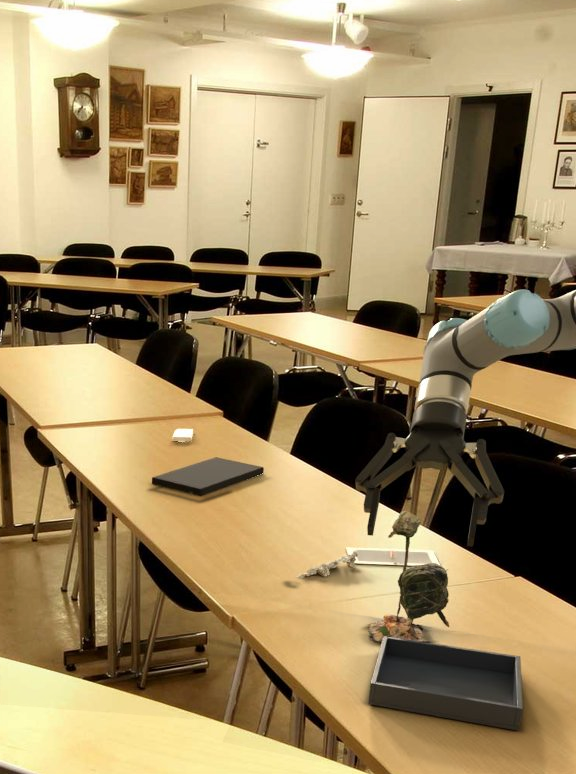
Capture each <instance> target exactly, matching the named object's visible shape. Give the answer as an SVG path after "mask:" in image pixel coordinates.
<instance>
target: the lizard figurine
mask: <svg viewBox="0 0 576 774" xmlns="http://www.w3.org/2000/svg"><path fill="white" fill-rule="evenodd" d="M357 556H358V554H357V552H355V551H353V554H351V555H348V553H347V554H342V555H341V556H340V558H338V559H334V560H332V561H328V562H326V563H322V564H321V565H318V566H317V567H316V566H311V567H310V568H308V570H306V573H301V574H298V575H295V578H297V579H304V578H306V577H311V576H313V575H317V574H319V575H320V576H322V577H327V576H330V574H331V573H330V570H331V569H335V568H337V567H338V566H339V565H340V563H342V564H346V565H347V566H349V567H350V568H354V569H355V568H357V566H356V563H354V562H355V561H356V558H355V557H357Z"/></svg>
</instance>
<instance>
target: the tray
mask: <svg viewBox="0 0 576 774" xmlns="http://www.w3.org/2000/svg"><path fill="white" fill-rule="evenodd" d="M380 644H381V645H380V648H379V651H378V654H377V659H376V663H375V667H374V670H373V673H372V677H371V681H370V686H369V694H368V702H367V704H368V705H372V706H377V707H383V708H389V709H395V710H400V711H406V712H410V713H417V714H422V715H427V716H434V717H438V718H445V719H450V720H456V721H462V722H467V723H472V724H478V725H483V726H484V725H485V726H490V727H496V728H499V729H500V728H501V729H507V730H513V731H517V732H519V730H520V725H521V720H522V715H523V711H524V708H523V707H524V706H523V703H524V702H523V685H522V684H523V683H522V682H523V681H522V662H521V661H522V659H521V655H514V654H507V653H500V652H494V651H488V650H481V649H474V648H467V647H459V646H454V645H447V644H439V643H432V642H428V641H425V642H423V641H422V642H420V641H413V640H407V639H400V638H393V637H386V636H384V637H383V640H382V642H381V643H380Z"/></svg>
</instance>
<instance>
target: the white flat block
mask: <svg viewBox="0 0 576 774" xmlns="http://www.w3.org/2000/svg"><path fill="white" fill-rule="evenodd" d="M192 437H193V438H194V429H193V428H177V429H175V431H174V432H173V434H172V438H171V442H172V441H178V442H182V443H181V444H184V443H183V442H185V441H191V440H192V441H193V438H192ZM192 441H191V442H192ZM178 442H177V443H178ZM185 443H186V442H185Z"/></svg>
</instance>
